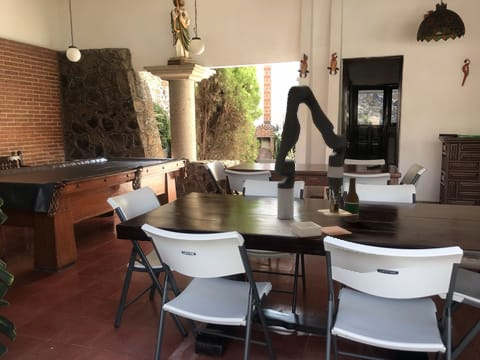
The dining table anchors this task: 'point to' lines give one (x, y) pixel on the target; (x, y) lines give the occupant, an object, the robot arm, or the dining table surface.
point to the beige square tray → (306, 229)
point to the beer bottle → (352, 202)
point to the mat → (334, 230)
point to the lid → (331, 211)
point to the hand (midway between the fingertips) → (334, 210)
